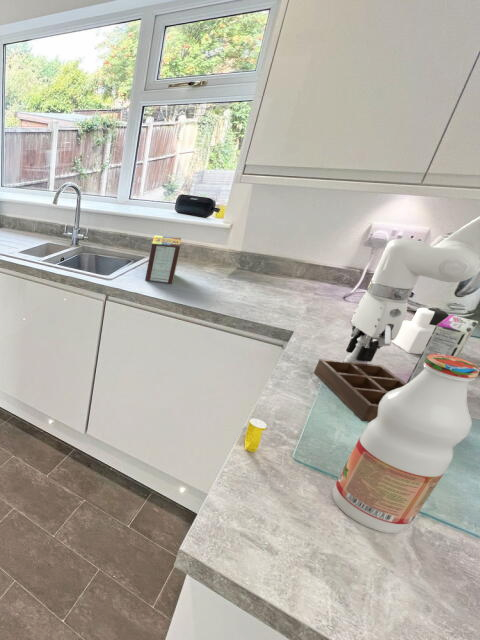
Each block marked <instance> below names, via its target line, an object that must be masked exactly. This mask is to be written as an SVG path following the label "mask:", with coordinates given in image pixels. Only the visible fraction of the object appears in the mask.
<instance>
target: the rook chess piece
mask: <svg viewBox="0 0 480 640" xmlns="http://www.w3.org/2000/svg"><path fill="white" fill-rule="evenodd" d="M366 339H367V337H366V336H360V338H357V341H358V343H357V344H356V348H355V349H354V350H353V352H352V353H349V354H347V355H346V356H345V359H344V361H343V362H353V363H363V364H368V362H367V361H358V360H357V359H356V357H357V355H358V353H359V351H360V348H361V346H364V345H365V342H366ZM373 341H374V339H372V342H373Z"/></svg>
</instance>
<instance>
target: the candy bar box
mask: <svg viewBox="0 0 480 640" xmlns="http://www.w3.org/2000/svg"><path fill="white" fill-rule="evenodd" d="M448 315H449V316H448V317H447V318H446V319H444V320H443V321H442V322H440V323H439V324H438V325H436V327H435V329H434V331H433V333H432V335H431V337H430V339H429V341H428V343H427V345H426V347H425V349H424V351H423V353H422V354H420V356H419V359H418V361H417V362H416V364H415V367H414V368H413V370H412V372H411V374H410V375H409V378H408V380H407V382H406V384H407V383H409V382H410V381H411V380H413V379H414V378H415V377H416V376H417V375H419V374H420V373H421V372H422V371H423V370H424V366H423V364H424V361H425V359H426V358H427V357H428V356H429V355H430V354H445V355H450V356H454V357H458V358H460V356H461V354H462V352H463V350H464V349H465V346H466V345H467V343H468V342H469V339H470V337H471V336H472V334H473V332H474V331H475V329H476V327H477V325H478V324H479V321H478V320H475V319H470V318H467V317H463V316H458V315H453V314H448Z"/></svg>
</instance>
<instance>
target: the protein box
mask: <svg viewBox="0 0 480 640" xmlns="http://www.w3.org/2000/svg"><path fill="white" fill-rule="evenodd" d="M181 246H182V237H177V236H165V235H154V234H153V238H152V242H151V247H150V250H149V251H150V252H149V257H148V263H147V267H146V273H145V278H144V280H145V281H149V282H154V283H155V282H156V283H162V284H163V283H164V284H170V285H172V284H173V282H174V278H175V273H176V269H177V264H178V261H179V256H180V252H181Z"/></svg>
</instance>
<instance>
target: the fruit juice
mask: <svg viewBox="0 0 480 640" xmlns="http://www.w3.org/2000/svg"><path fill="white" fill-rule="evenodd" d="M423 366H424V370H423V371H422V372H421V373H420V374H419V375H417V376H416V377H415V378H414V379H413V380H411V381H410V382H409V383H407V382H406V385H404V386H403V387H400V388H397V389H394V390H392V391H390V392H388V393H386V394H385V395H384V396H383V398H382V399H381V401H380V402H379V405H378V414H377V417H376V418H375V419H373V420H372V421H370V422H367V424H366V426H365V428H364V429H363V431H362V432H361V434H360V436H359V438H358V439H357V442H356V443H355V446H354V447H353V450H352V452H351V453H350V455H349V457H348V459H347V461H346V463H345V465H344V467H343V468H342V471H341V472H340V474H339V476H338V478H337V480H336V482H335V484H334V486H333V489H332V499H333V501H334V503H335V504H336V505H337V507H338V509H340V510H341V511H342V512H343V513H344V514H346V515H347V516H348V517H349V518H351V519H352V520H354V521H356V522H357V523H359V524H361V525H362V526H365V527H367V528H369V529H371V530H375V531H378V532H381V533H386V534H400V533H402V532H404V531H406V530H408V528H409V527H410V526H411V524H412V523H413V522H414V520H415V518H416V517H417V516H418V514H419V513H420V511H421V510H422V508H423V506H424V505H425V503H426V502H427V500H428V499H429V497H430V496H431V494H432V493H433V491H434V490H435V488H436V487H437V485H438V484H439V482H440V481H441V479H442V478H443V476H444V475H445V473H446V472H447V470H448V469H449V467H450V465H451V463H452V461H453V458H454V447H455V446H456V445H458V444H459V443H461V442H463V440H465V439H466V438H467V437H468V435H469V434H470V431H471V430H472V426H473V420H472V417H471V415H470V412H469V409H468V391H469V384H470V382H473V381H475V380H476V378H478V376H479V374H480V367H479V366H478V365H477V364H475V363H473V362H471V361H469V360H466V359H464V358H461V357H454V356H450V355H445V354H430V355H429V356H428V357H427V358H426V359H425V361H424V364H423Z"/></svg>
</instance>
